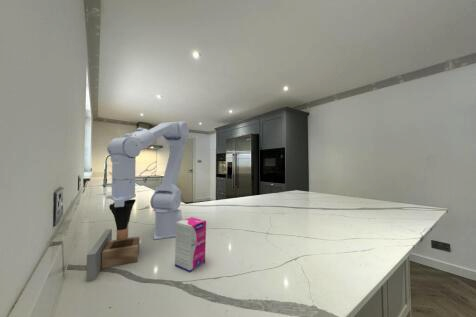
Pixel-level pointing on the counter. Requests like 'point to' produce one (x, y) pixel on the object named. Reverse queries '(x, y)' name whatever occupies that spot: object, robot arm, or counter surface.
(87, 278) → the wall
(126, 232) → the dowel
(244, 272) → the counter surface
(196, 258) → the supplement box
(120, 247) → the socket block
